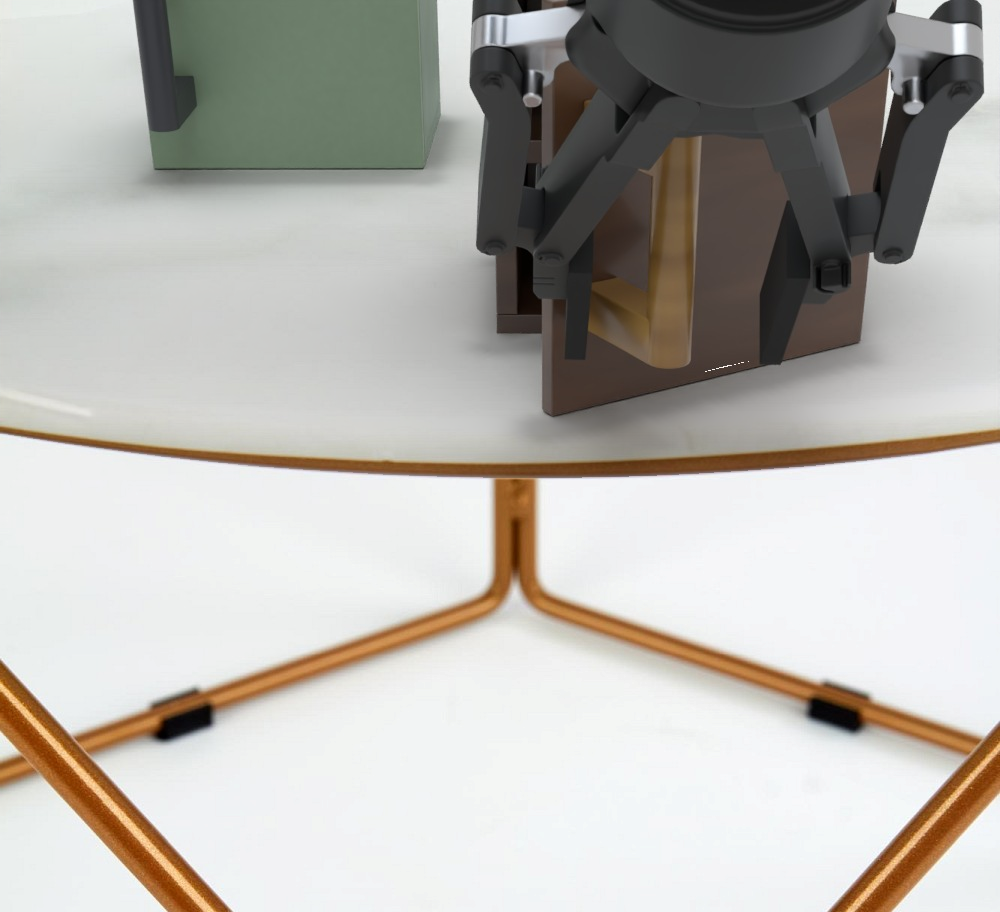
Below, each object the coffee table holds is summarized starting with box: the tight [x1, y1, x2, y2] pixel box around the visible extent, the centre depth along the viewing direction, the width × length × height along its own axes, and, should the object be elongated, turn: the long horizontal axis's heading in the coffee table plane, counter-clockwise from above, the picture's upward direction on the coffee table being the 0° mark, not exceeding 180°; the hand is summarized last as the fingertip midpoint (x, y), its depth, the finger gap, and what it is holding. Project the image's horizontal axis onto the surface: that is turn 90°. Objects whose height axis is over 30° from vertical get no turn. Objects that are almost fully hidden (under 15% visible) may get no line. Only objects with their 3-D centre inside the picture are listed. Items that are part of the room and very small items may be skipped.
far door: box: [132, 0, 426, 170], centre depth 87 cm, size 6×15×14 cm, turn 87°
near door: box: [541, 0, 898, 417], centre depth 62 cm, size 6×15×14 cm, turn 120°
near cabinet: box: [495, 0, 542, 335], centre depth 72 cm, size 11×15×15 cm
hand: (673, 326), depth 61 cm, fingers open, 6 cm apart
